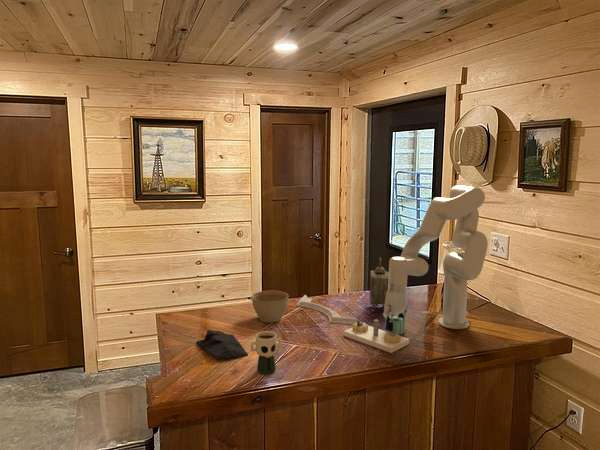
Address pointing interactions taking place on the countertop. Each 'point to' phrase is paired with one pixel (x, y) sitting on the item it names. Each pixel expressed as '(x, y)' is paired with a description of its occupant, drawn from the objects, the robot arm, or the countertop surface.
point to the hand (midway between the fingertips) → (394, 327)
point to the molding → (325, 312)
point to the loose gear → (398, 325)
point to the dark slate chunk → (222, 345)
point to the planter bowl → (270, 305)
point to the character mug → (266, 351)
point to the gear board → (376, 336)
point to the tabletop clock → (378, 286)
